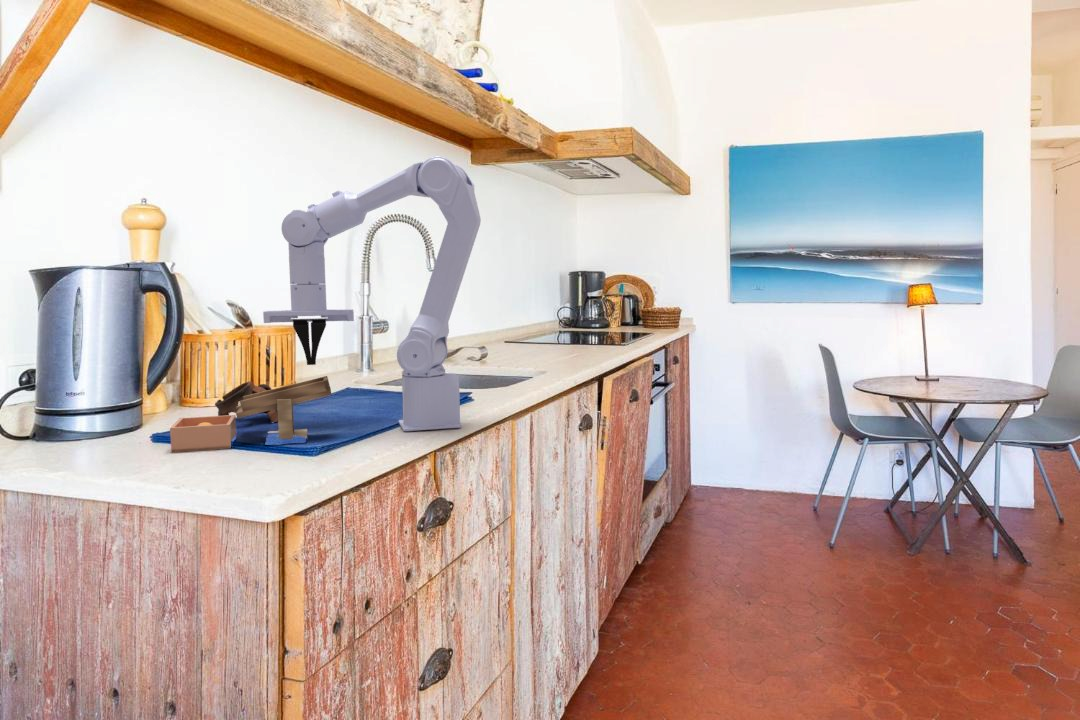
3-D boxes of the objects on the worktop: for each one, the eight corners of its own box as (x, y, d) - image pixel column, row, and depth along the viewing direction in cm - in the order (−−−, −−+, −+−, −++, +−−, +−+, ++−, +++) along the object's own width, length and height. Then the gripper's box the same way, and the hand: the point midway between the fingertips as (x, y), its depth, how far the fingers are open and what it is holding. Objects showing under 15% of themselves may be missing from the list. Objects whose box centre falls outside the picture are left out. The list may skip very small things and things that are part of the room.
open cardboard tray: (236, 437, 115) (235, 414, 114) (231, 448, 107) (229, 424, 107) (181, 440, 113) (179, 418, 112) (171, 452, 105) (169, 428, 105)
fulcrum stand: (307, 432, 118) (305, 391, 117) (306, 443, 110) (304, 399, 110) (268, 435, 116) (266, 393, 115) (264, 446, 109) (262, 401, 108)
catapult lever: (330, 384, 123) (326, 371, 122) (331, 394, 112) (327, 379, 112) (241, 407, 119) (237, 393, 118) (233, 419, 108) (229, 404, 108)
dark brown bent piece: (272, 430, 123) (243, 390, 120) (228, 452, 125) (199, 414, 122) (297, 400, 134) (271, 364, 131) (257, 421, 136) (230, 385, 133)
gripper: (351, 283, 128) (353, 360, 130) (263, 284, 124) (267, 363, 125) (353, 284, 121) (355, 364, 123) (260, 284, 117) (264, 368, 119)
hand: (311, 364), depth 124 cm, fingers closed
